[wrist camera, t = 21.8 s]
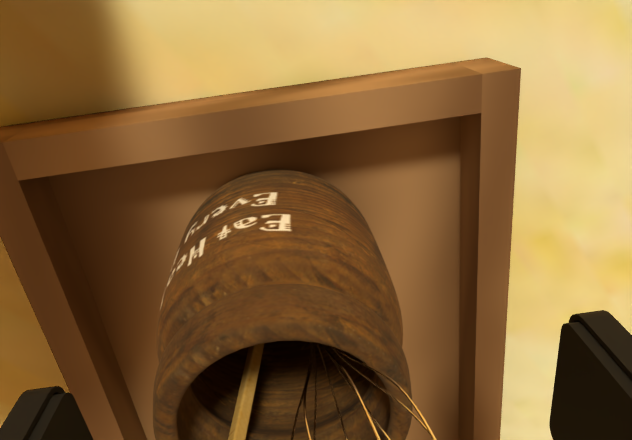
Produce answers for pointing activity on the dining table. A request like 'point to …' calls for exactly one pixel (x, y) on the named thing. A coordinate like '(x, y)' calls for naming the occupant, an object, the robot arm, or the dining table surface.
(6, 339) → the dining table surface
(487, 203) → the tray
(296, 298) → the utensil holder
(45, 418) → the robot arm
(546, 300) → the dining table surface
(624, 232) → the dining table surface
